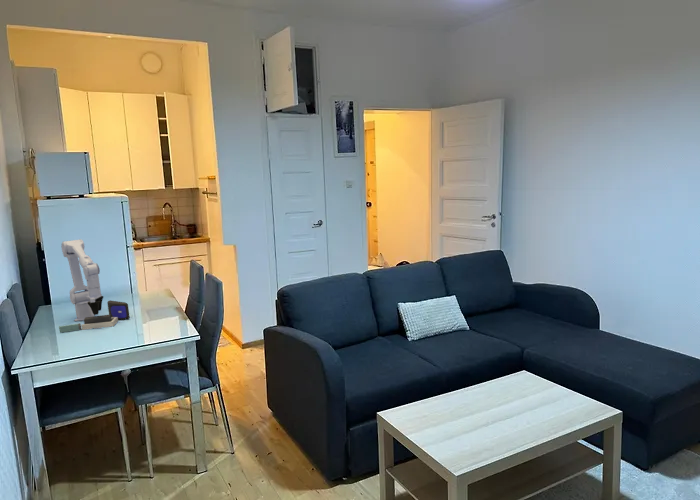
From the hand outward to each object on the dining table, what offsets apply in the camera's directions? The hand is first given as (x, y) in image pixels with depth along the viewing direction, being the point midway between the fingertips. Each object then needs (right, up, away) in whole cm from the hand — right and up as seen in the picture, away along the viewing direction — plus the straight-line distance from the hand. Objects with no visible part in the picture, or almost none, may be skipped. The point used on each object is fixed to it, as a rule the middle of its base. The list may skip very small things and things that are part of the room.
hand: (97, 312), depth 252 cm
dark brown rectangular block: (0, -7, +1) cm, 7 cm away
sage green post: (-11, -9, -6) cm, 15 cm away
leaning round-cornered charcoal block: (+5, -5, +14) cm, 15 cm away
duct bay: (0, -7, +1) cm, 7 cm away
